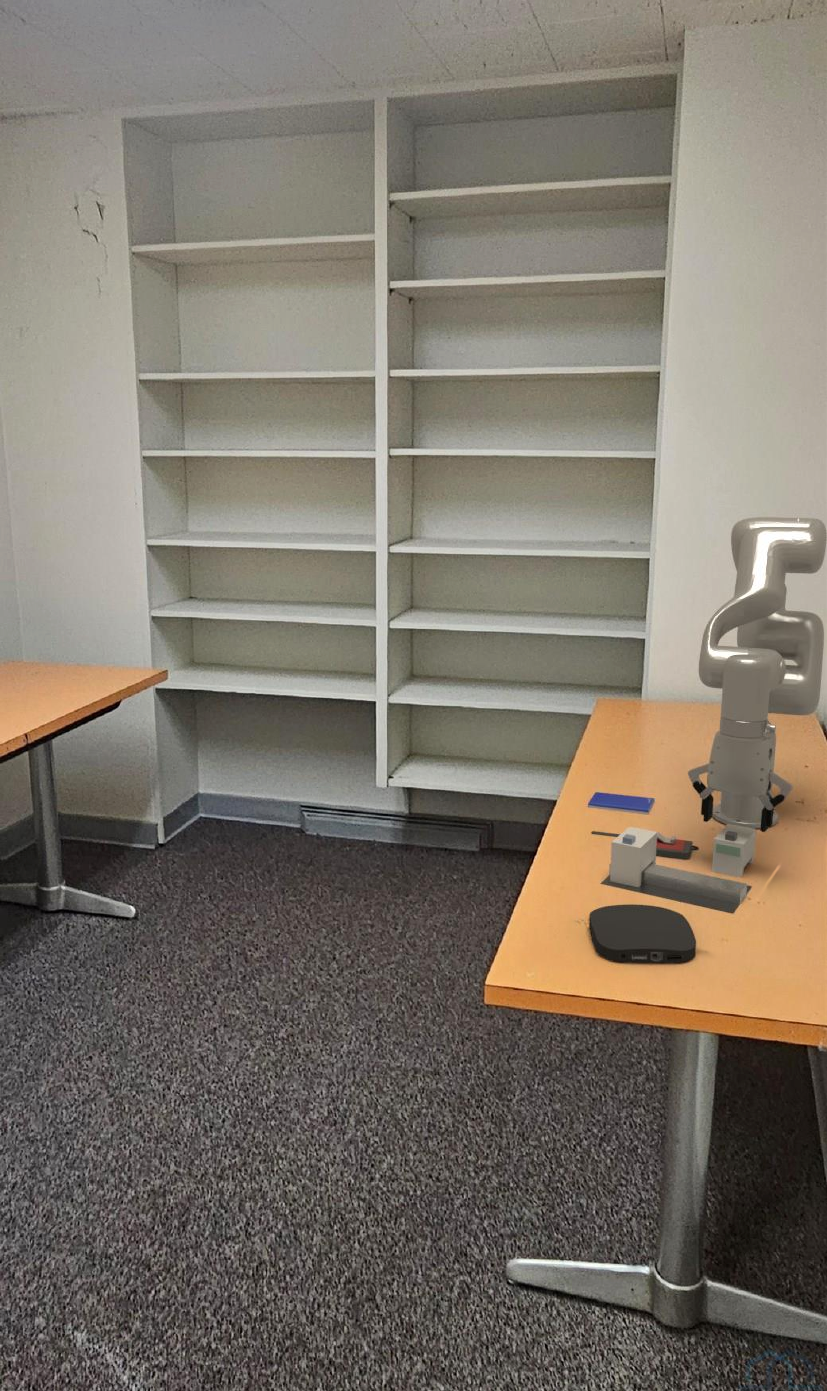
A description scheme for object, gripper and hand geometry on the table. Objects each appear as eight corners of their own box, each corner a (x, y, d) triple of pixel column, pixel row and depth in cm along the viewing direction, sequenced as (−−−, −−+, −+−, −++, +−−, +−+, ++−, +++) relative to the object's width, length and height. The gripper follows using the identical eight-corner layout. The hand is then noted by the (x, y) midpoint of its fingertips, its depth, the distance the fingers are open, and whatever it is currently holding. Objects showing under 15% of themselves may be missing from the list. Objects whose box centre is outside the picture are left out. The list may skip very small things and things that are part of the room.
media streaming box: (678, 920, 159) (680, 903, 158) (701, 966, 144) (702, 947, 144) (585, 919, 159) (586, 902, 158) (598, 965, 145) (599, 946, 144)
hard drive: (654, 797, 211) (596, 790, 216) (648, 809, 204) (587, 802, 209) (654, 804, 212) (595, 797, 216) (648, 817, 204) (587, 809, 209)
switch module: (724, 860, 181) (727, 818, 179) (753, 866, 178) (756, 823, 177) (711, 877, 174) (714, 833, 172) (740, 883, 171) (743, 839, 170)
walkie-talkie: (699, 851, 186) (591, 838, 193) (701, 828, 185) (592, 816, 192) (695, 869, 178) (582, 854, 185) (696, 845, 177) (583, 831, 184)
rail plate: (625, 864, 179) (626, 849, 179) (751, 891, 168) (753, 875, 167) (600, 888, 169) (600, 872, 169) (732, 919, 158) (734, 901, 157)
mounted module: (627, 864, 177) (629, 821, 175) (655, 870, 174) (657, 826, 173) (609, 880, 170) (611, 836, 168) (638, 887, 168) (640, 842, 166)
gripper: (801, 730, 169) (792, 827, 172) (698, 717, 178) (692, 810, 181) (791, 739, 162) (783, 840, 166) (685, 725, 171) (679, 821, 175)
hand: (735, 824), depth 173 cm, fingers open, 9 cm apart
